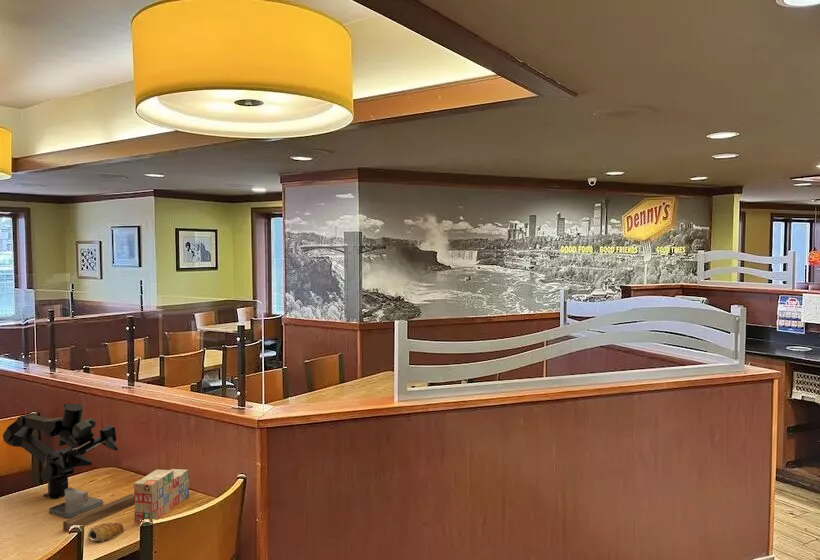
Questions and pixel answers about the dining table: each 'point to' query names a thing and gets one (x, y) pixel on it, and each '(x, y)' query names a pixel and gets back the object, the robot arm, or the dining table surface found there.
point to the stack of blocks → (160, 493)
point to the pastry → (105, 531)
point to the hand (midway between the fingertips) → (104, 456)
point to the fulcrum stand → (75, 503)
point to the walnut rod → (100, 512)
